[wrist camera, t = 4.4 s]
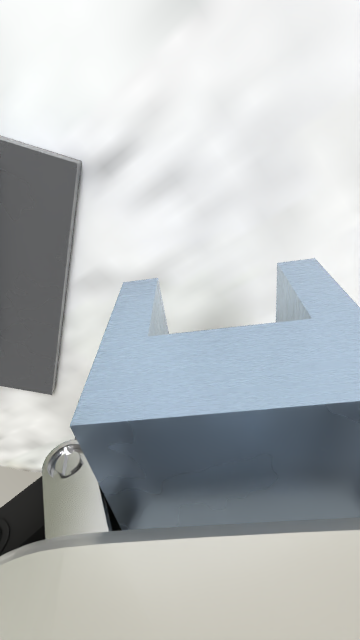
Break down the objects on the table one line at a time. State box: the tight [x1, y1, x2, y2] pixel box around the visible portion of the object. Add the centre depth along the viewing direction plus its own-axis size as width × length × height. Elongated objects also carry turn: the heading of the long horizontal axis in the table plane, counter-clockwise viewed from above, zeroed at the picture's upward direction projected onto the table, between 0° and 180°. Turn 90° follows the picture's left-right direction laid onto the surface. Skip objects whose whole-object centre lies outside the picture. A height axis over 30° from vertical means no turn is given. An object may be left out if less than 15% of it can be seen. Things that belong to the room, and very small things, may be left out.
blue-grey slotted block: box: [70, 258, 360, 530], centre depth 10 cm, size 6×7×6 cm
